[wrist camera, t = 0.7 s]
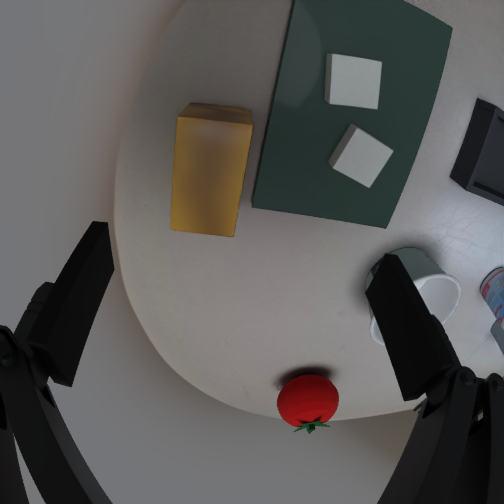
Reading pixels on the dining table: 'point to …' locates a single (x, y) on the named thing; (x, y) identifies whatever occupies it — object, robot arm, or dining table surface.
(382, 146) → the white square block
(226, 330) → the dining table surface
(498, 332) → the spray bottle
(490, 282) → the pill bottle
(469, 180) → the tray
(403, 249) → the food container
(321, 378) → the tomato
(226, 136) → the yellow rectangular block
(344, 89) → the grey square block
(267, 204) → the chalkboard
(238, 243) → the dining table surface
